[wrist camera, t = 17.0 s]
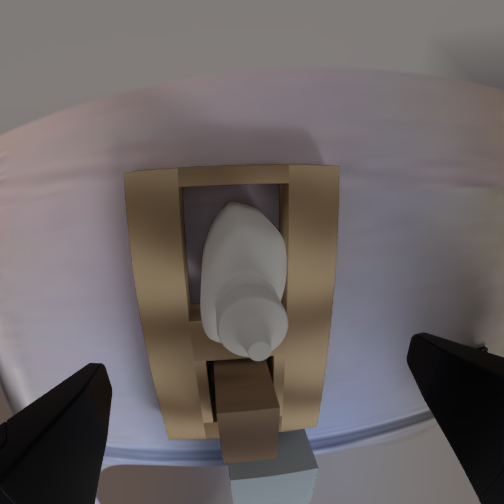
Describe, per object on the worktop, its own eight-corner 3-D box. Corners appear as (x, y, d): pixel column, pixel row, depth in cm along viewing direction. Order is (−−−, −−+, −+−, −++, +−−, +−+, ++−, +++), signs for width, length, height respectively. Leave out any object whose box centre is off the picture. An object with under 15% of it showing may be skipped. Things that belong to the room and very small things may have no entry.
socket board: (309, 407, 26) (316, 426, 23) (170, 418, 24) (169, 439, 22) (324, 165, 20) (339, 166, 18) (134, 171, 18) (123, 173, 16)
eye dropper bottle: (286, 238, 21) (370, 329, 10) (224, 296, 22) (243, 430, 10) (239, 189, 20) (281, 234, 8) (176, 252, 20) (142, 365, 9)
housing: (294, 477, 29) (306, 516, 24) (232, 485, 28) (237, 525, 23) (301, 422, 26) (318, 467, 21) (224, 431, 25) (230, 480, 20)
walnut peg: (261, 392, 24) (277, 457, 18) (217, 396, 24) (223, 463, 17) (260, 342, 23) (280, 407, 16) (212, 346, 23) (216, 413, 16)
